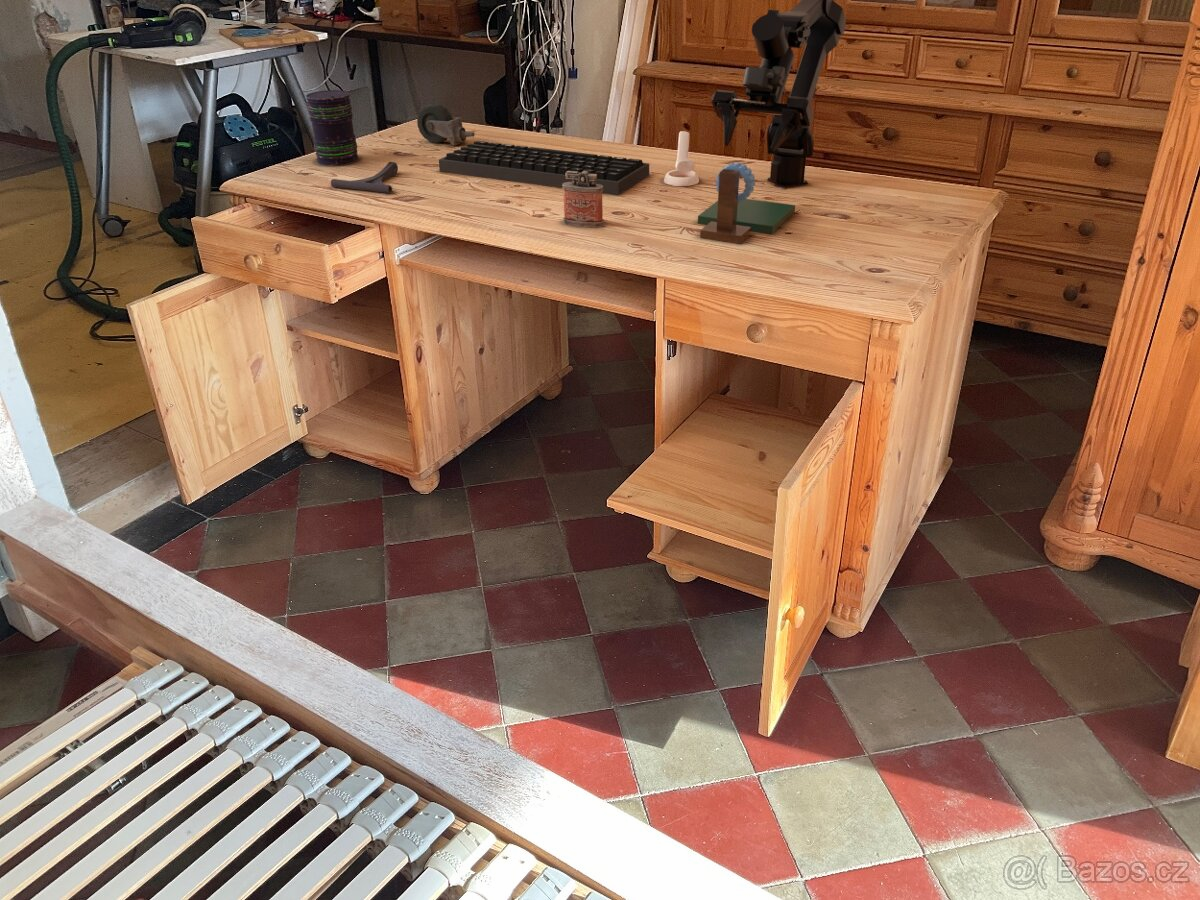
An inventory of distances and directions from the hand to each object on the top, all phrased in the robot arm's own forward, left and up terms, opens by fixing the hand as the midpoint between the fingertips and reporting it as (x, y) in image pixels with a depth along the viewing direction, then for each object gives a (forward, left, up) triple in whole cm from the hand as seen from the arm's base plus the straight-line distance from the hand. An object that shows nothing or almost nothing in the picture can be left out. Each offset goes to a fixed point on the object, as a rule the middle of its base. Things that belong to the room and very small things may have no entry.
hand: (748, 147), depth 183 cm
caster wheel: (+37, -83, -14) cm, 91 cm away
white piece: (0, -28, -14) cm, 31 cm away
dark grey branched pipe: (+60, -57, -14) cm, 83 cm away
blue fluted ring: (+6, +5, -8) cm, 11 cm away
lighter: (+30, -11, -14) cm, 34 cm away
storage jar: (+65, -79, -14) cm, 103 cm away
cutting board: (-1, 0, -14) cm, 14 cm away
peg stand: (+7, +6, -14) cm, 16 cm away
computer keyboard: (+25, -47, -14) cm, 55 cm away
